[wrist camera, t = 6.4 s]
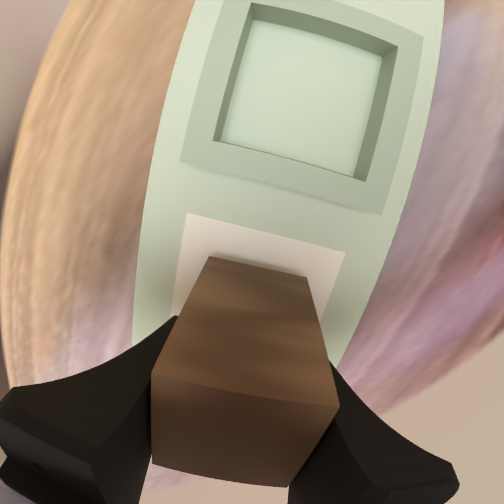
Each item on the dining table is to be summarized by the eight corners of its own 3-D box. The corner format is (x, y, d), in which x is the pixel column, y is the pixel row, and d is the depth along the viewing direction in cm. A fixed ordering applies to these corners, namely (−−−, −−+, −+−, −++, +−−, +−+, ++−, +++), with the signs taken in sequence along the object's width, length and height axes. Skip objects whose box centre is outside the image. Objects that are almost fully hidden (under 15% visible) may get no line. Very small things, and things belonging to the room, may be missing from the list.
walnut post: (306, 277, 12) (339, 406, 6) (281, 354, 14) (286, 487, 7) (209, 255, 12) (151, 371, 6) (195, 336, 14) (152, 463, 7)
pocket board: (439, 2, 9) (461, -13, 7) (323, 383, 17) (329, 413, 14) (225, -61, 9) (218, -87, 7) (135, 339, 16) (119, 365, 14)
